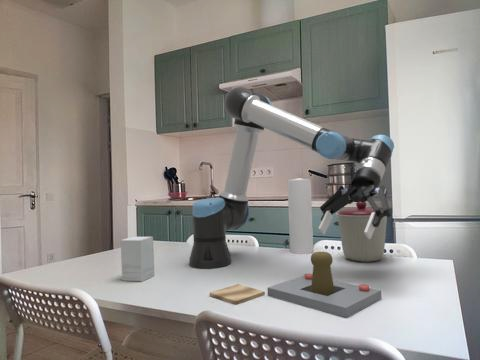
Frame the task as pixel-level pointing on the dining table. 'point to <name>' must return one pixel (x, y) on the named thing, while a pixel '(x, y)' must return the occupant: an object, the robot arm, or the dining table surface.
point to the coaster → (237, 294)
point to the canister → (361, 234)
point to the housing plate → (339, 303)
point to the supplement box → (137, 258)
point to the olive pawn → (322, 274)
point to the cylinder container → (300, 216)
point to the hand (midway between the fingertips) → (343, 233)
